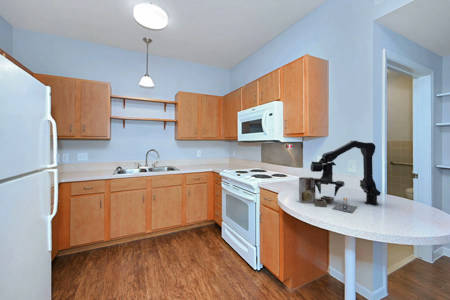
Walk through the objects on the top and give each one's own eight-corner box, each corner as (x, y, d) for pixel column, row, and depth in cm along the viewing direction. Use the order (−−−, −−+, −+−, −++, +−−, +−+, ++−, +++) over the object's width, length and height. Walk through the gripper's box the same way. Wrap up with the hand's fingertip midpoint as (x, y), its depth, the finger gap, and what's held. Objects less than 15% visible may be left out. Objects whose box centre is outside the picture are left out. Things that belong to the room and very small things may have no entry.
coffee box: (312, 200, 133) (312, 177, 132) (315, 203, 126) (315, 178, 126) (298, 200, 134) (298, 177, 133) (301, 202, 127) (301, 178, 127)
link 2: (323, 199, 134) (323, 195, 134) (333, 201, 129) (333, 197, 129) (320, 201, 129) (320, 197, 129) (331, 203, 125) (331, 199, 125)
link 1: (314, 203, 126) (314, 198, 126) (324, 204, 124) (324, 199, 124) (315, 206, 120) (315, 201, 120) (326, 207, 118) (326, 202, 118)
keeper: (338, 204, 125) (339, 194, 124) (357, 207, 118) (357, 197, 117) (332, 209, 114) (332, 199, 114) (352, 213, 108) (352, 202, 107)
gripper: (308, 171, 130) (308, 194, 130) (340, 174, 117) (339, 200, 117) (314, 170, 138) (314, 191, 138) (344, 172, 125) (344, 196, 125)
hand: (327, 194), depth 129 cm, fingers open, 9 cm apart
